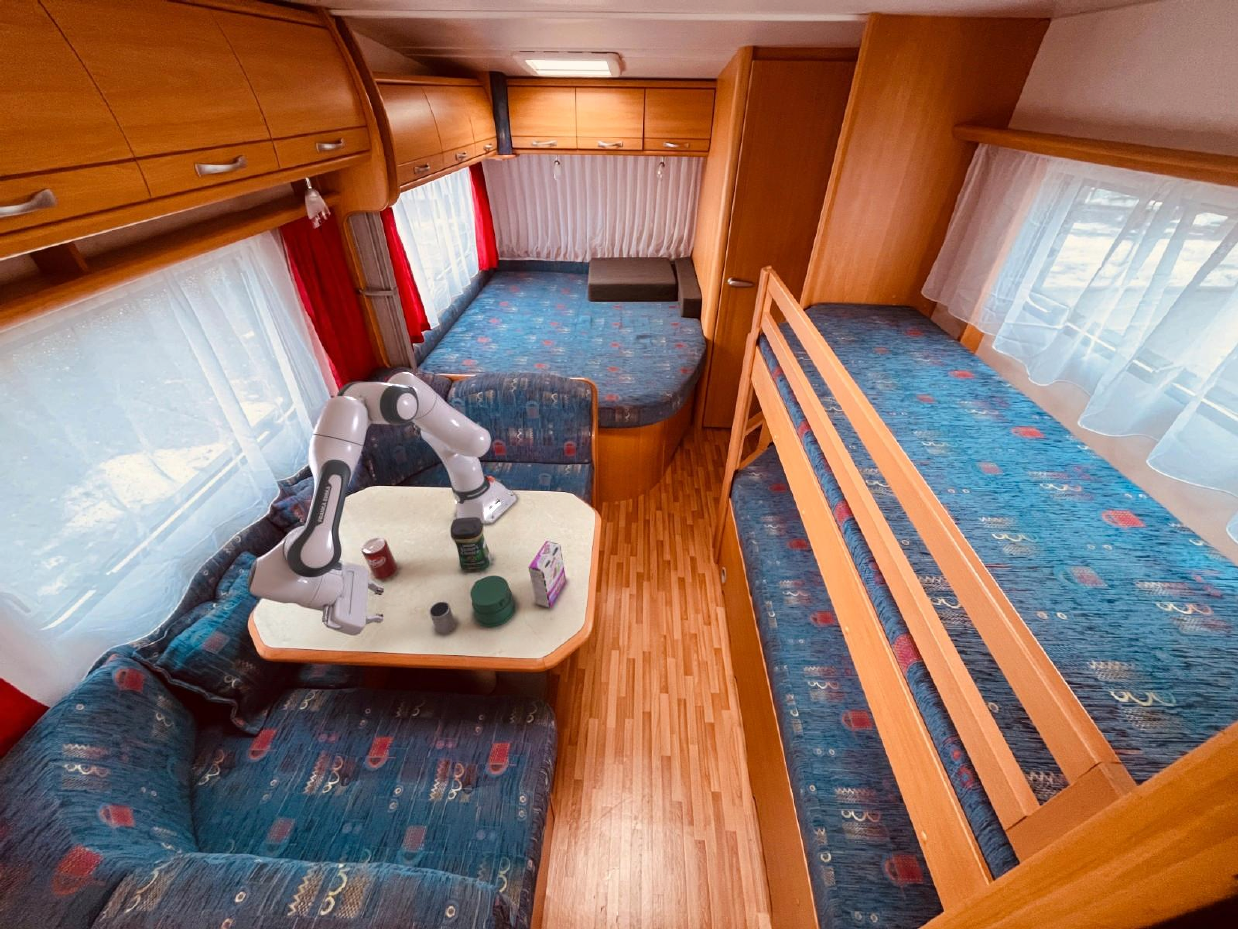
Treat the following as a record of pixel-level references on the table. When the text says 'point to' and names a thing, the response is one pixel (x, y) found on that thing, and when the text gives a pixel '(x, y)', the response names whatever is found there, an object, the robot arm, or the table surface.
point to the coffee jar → (470, 544)
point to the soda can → (379, 558)
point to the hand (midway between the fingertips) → (382, 604)
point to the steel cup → (442, 617)
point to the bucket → (492, 601)
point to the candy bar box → (547, 574)
